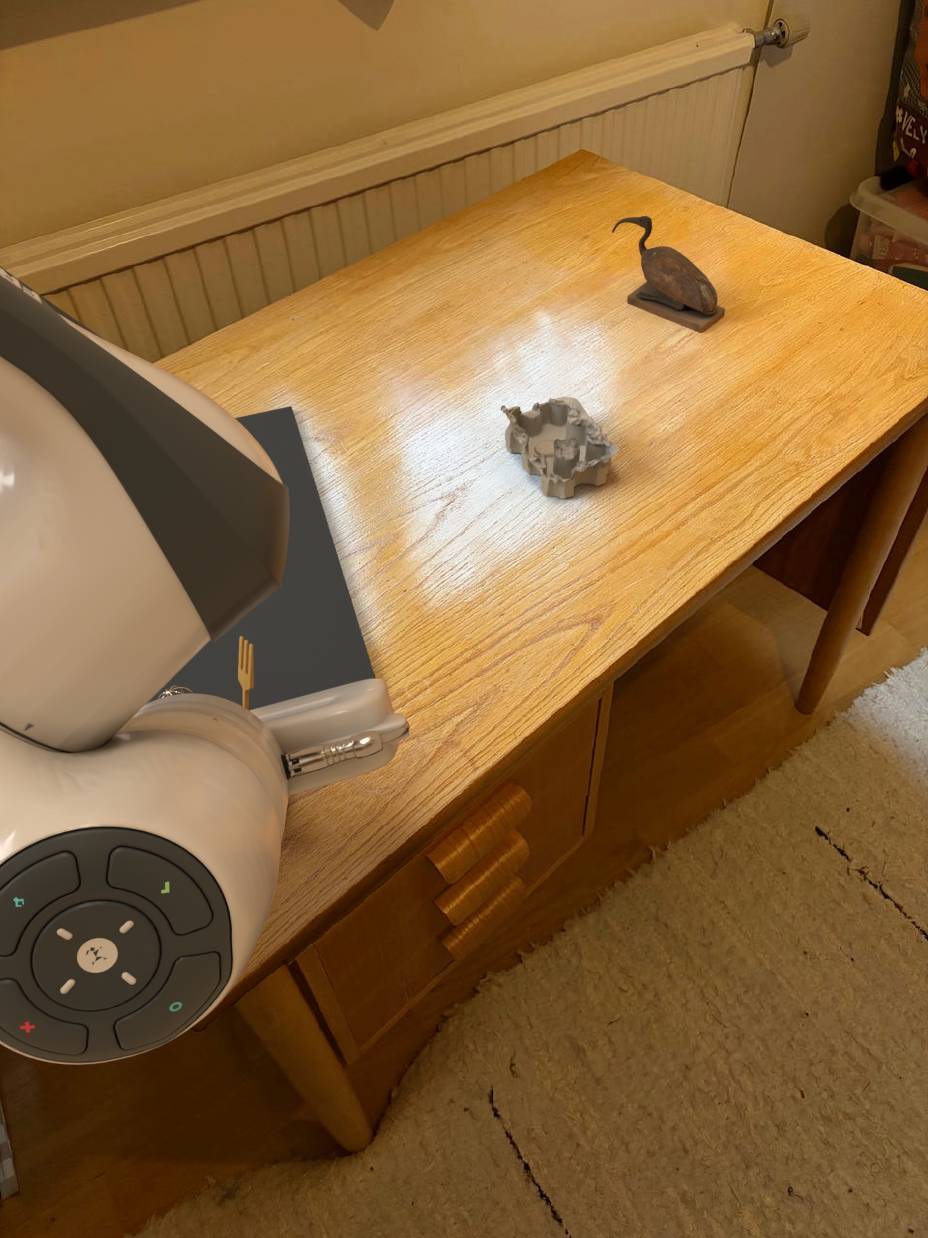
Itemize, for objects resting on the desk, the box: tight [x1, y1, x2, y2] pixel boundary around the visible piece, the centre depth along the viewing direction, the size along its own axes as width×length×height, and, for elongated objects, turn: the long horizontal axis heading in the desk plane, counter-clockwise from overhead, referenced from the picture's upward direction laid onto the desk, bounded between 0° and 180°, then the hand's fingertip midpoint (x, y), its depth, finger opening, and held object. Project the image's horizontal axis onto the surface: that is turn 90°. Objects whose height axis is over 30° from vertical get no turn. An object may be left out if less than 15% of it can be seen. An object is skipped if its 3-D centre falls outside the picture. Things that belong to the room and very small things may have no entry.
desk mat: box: [145, 405, 377, 710], centre depth 74 cm, size 20×36×1 cm, turn 17°
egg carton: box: [500, 396, 621, 499], centre depth 79 cm, size 11×8×4 cm
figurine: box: [611, 215, 726, 333], centre depth 94 cm, size 14×4×9 cm, turn 48°
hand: (221, 736), depth 52 cm, fingers closed, pressing on utensil holder
